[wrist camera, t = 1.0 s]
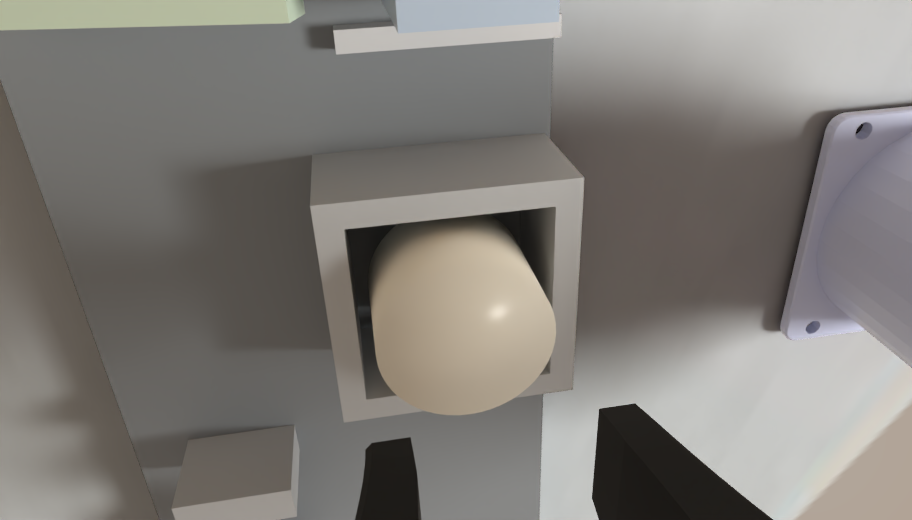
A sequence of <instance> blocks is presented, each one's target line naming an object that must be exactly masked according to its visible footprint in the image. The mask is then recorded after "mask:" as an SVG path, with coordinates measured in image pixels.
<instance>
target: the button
mask: <svg viewBox="0 0 912 520" xmlns="http://www.w3.org/2000/svg"><path fill="white" fill-rule="evenodd" d="M368 289H369V298H370V307H371V316H372V325H373V334H374V343H375V352H376V359H377V364H378V368H379V370H380V373H381V375H382V377H383V379H384V381H385V382H386V384H387V385H388V386H389V388H390V389H391V390H392V391H393V392H394V393H395V394H396V395H397V396H398V397H399V398H401V399H402V400H404V401H405V402H407V403H408V404H410V405H412V406H414V407H416V408H418V409H421V410H424V411H427V412H431V413H435V414H442V415H468V414H474V413H479V412H483V411H486V410H490V409H493V408H495V407H498V406H500V405H502V404H504V403H506V402H508V401H510V400H512V399H513V398H515V397H516V396H518V395H519V394H521V393H522V392H523V391H524V390H526V389H527V388H528V387H529V386H530V385H531V384H532V383H533V382H534V381H535V380H536V379H537V378H538V376H539V375H540V374H541V372H542V371H543V370H544V368H545V366H546V365H547V363H548V361H549V359H550V356H551V354H552V352H553V348H554V344H555V338H556V322H555V317H554V312H553V310H552V307H551V304H550V302H549V301H548V299H547V297H546V295H545V293H544V291H543V290H542V288H541V286H540V284H539V282H538V280H537V279H536V277H535V275H534V273H533V271H532V269H531V268H530V266H529V264H528V262H527V260H526V258H525V256H524V255H523V253H522V251H521V249H520V247H519V245H518V244H517V242H516V240H515V238H514V237H513V235H512V234H511V232H510V231H509V230H508V229H507V228H506V227H505V226H504V225H503V224H502V223H501V222H500V221H499V220H497V219H496V218H494V217H493V216H491V215H489V214H483V215H474V216H465V217H456V218H446V219H437V220H428V221H419V222H409V223H400V224H397V225H396V226H395V227H393V228H392V229H391V230H390V231H389V232H388V233H387V234H386V235H385V237H384V238H383V239H382V240H381V242H380V243H379V245H378V247H377V248H376V250H375V252H374V254H373V257H372V259H371V262H370V266H369V272H368Z"/></svg>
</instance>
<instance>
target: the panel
mask: <svg viewBox="0 0 912 520" xmlns="http://www.w3.org/2000/svg"><path fill="white" fill-rule="evenodd" d="M303 1H304V8H305V14H304V15H302V16H301V17H299V18H297V19H296V20H294V21H292V22H291V23H283V24H242V25H201V26H160V27H120V28H79V29H38V30H0V80H1V83H2V86H3V89H4V91H5V94H6V97H7V100H8V102H9V105H10V108H11V111H12V114H13V116H14V119H15V122H16V125H17V127H18V130H19V133H20V136H21V138H22V141H23V144H24V147H25V149H26V152H27V155H28V158H29V160H30V163H31V166H32V169H33V172H34V174H35V177H36V180H37V183H38V185H39V188H40V191H41V194H42V196H43V199H44V202H45V205H46V207H47V210H48V213H49V216H50V218H51V221H52V224H53V227H54V229H55V232H56V235H57V238H58V241H59V243H60V246H61V249H62V252H63V254H64V257H65V260H66V263H67V265H68V268H69V271H70V274H71V276H72V279H73V282H74V285H75V287H76V290H77V293H78V296H79V299H80V301H81V304H82V307H83V310H84V312H85V315H86V318H87V321H88V323H89V326H90V329H91V332H92V334H93V337H94V340H95V343H96V345H97V348H98V351H99V354H100V356H101V359H102V362H103V365H104V368H105V370H106V373H107V376H108V379H109V381H110V384H111V387H112V390H113V392H114V395H115V398H116V401H117V403H118V406H119V409H120V412H121V414H122V417H123V420H124V423H125V426H126V428H127V431H128V434H129V437H130V439H131V442H132V445H133V448H134V450H135V453H136V456H137V459H138V461H139V464H140V467H141V470H142V472H143V475H144V478H145V481H146V483H147V486H148V489H149V492H150V495H151V497H152V500H153V503H154V506H155V508H156V511H157V514H158V517H159V519H160V520H279V519H281V520H355V517H356V513H357V508H358V503H359V499H360V494H361V489H362V483H363V476H364V467H365V449H366V448H367V447H368V446H369V445H370V444H371V443H374V442H381V441H388V440H394V439H401V438H408V437H411V442H412V447H413V453H414V458H415V464H416V470H417V477H418V488H419V499H420V510H421V520H539V511H540V477H541V442H542V408H543V394H545V393H552V392H559V391H566V390H573V375H574V357H575V339H576V321H577V303H578V286H579V268H580V250H581V232H582V214H583V196H584V176H583V175H582V174H581V173H580V172H579V171H578V170H577V169H576V167H575V166H574V165H573V164H572V163H571V162H570V161H569V160H568V159H567V157H566V156H565V155H564V154H563V153H562V152H561V151H560V150H559V149H558V147H557V146H556V145H555V144H554V143H553V142H552V141H551V140H550V131H551V97H552V62H553V38H561V27H562V14H561V13H559V22H550V23H536V24H522V25H508V26H495V27H481V28H467V29H454V30H440V31H426V32H412V33H399V34H398V32H397V30H396V28H395V27H394V25H393V23H392V21H391V19H390V17H389V15H388V13H387V11H386V9H385V7H384V5H383V3H382V0H303ZM483 214H489V215H491V216H493V217H494V218H496V219H497V220H499V221H500V222H501V223H502V224H503V225H504V226H505V227H506V228H507V229H508V230H509V231H510V232H511V234H512V235H513V237H514V238H515V240H516V242H517V244H518V245H519V247H520V249H521V251H522V253H523V255H524V256H525V258H526V260H527V262H528V264H529V266H530V268H531V269H532V271H533V273H534V275H535V277H536V279H537V280H538V282H539V284H540V286H541V288H542V290H543V291H544V293H545V295H546V297H547V299H548V301H549V302H550V304H551V307H552V310H553V312H554V317H555V322H556V338H555V344H554V348H553V352H552V354H551V356H550V359H549V361H548V363H547V365H546V366H545V368H544V370H543V371H542V372H541V374H540V375H539V376H538V378H537V379H536V380H535V381H534V382H533V383H532V384H531V385H530V386H529V387H528V388H527V389H526V390H524V391H523V392H522V393H521V394H519V395H518V396H516V397H515V398H513V399H512V400H510V401H508V402H506V403H504V404H502V405H500V406H498V407H495V408H493V409H490V410H486V411H483V412H479V413H474V414H468V415H442V414H435V413H431V412H427V411H424V410H421V409H418V408H416V407H414V406H412V405H410V404H408V403H407V402H405V401H404V400H402V399H401V398H399V397H398V396H397V395H396V394H395V393H394V392H393V391H392V390H391V389H390V388H389V386H388V385H387V384H386V382H385V381H384V379H383V377H382V375H381V373H380V370H379V368H378V364H377V359H376V352H375V343H374V334H373V325H372V316H371V307H370V298H369V289H368V272H369V266H370V262H371V259H372V257H373V254H374V252H375V250H376V248H377V247H378V245H379V243H380V242H381V240H382V239H383V238H384V237H385V235H386V234H387V233H388V232H389V231H390V230H391V229H392V228H393V227H395V226H396V225H397V224H400V223H409V222H419V221H428V220H437V219H446V218H456V217H465V216H474V215H483Z"/></svg>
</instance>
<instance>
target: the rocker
mask: <svg viewBox="0 0 912 520" xmlns="http://www.w3.org/2000/svg"><path fill="white" fill-rule="evenodd" d="M304 14H305V8H304V1H303V0H0V30H38V29H79V28H120V27H160V26H201V25H242V24H283V23H291V22H292V21H294V20H296V19H297V18H299V17H301V16H302V15H304Z"/></svg>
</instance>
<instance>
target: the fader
mask: <svg viewBox="0 0 912 520" xmlns="http://www.w3.org/2000/svg"><path fill="white" fill-rule="evenodd" d="M382 3H383V5H384V7H385V9H386V11H387V13H388V15H389V17H390V19H391V21H392V23H393V25H394V27H395V28H396V30H397V32H398V34H399V33H412V32H426V31H440V30H454V29H467V28H481V27H495V26H508V25H522V24H536V23H550V22H559V8H560V0H382Z"/></svg>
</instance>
